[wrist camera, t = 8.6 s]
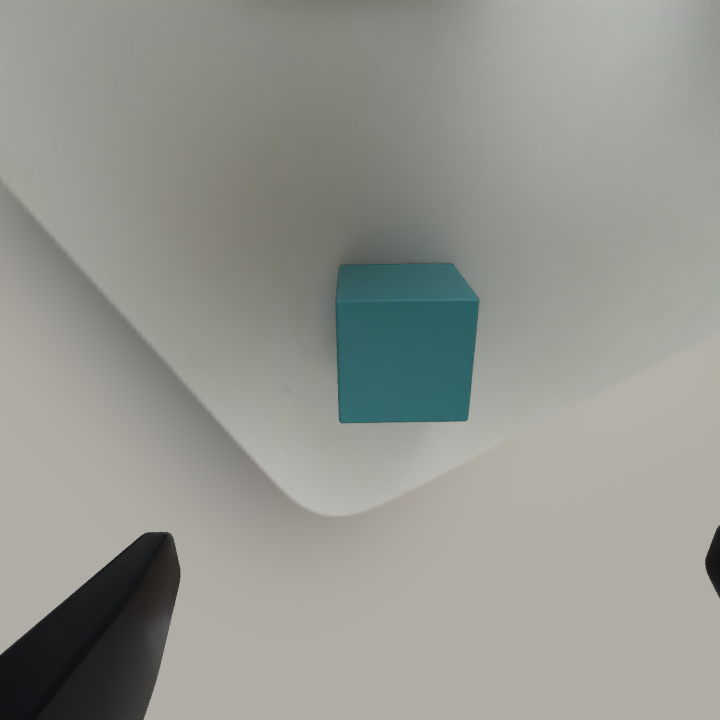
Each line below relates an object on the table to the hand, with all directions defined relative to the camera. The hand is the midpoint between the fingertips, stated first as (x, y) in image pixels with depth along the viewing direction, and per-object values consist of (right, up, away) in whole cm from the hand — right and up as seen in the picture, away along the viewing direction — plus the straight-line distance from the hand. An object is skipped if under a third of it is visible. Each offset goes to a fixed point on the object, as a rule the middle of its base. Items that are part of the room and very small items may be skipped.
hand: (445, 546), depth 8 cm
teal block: (0, +5, +10) cm, 11 cm away
